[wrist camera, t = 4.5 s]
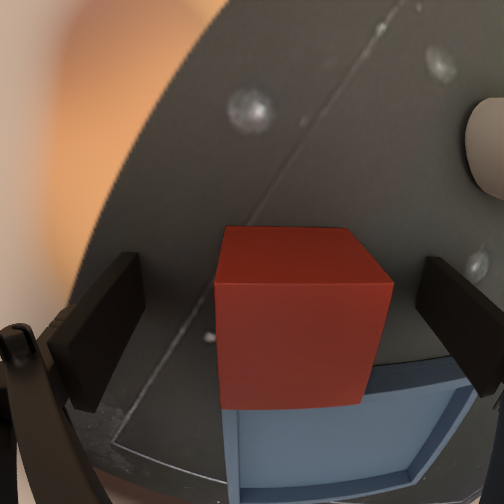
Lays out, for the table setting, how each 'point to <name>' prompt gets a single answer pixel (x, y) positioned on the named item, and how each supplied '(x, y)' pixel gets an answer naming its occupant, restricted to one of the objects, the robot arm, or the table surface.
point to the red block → (296, 317)
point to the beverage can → (487, 146)
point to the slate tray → (347, 438)
